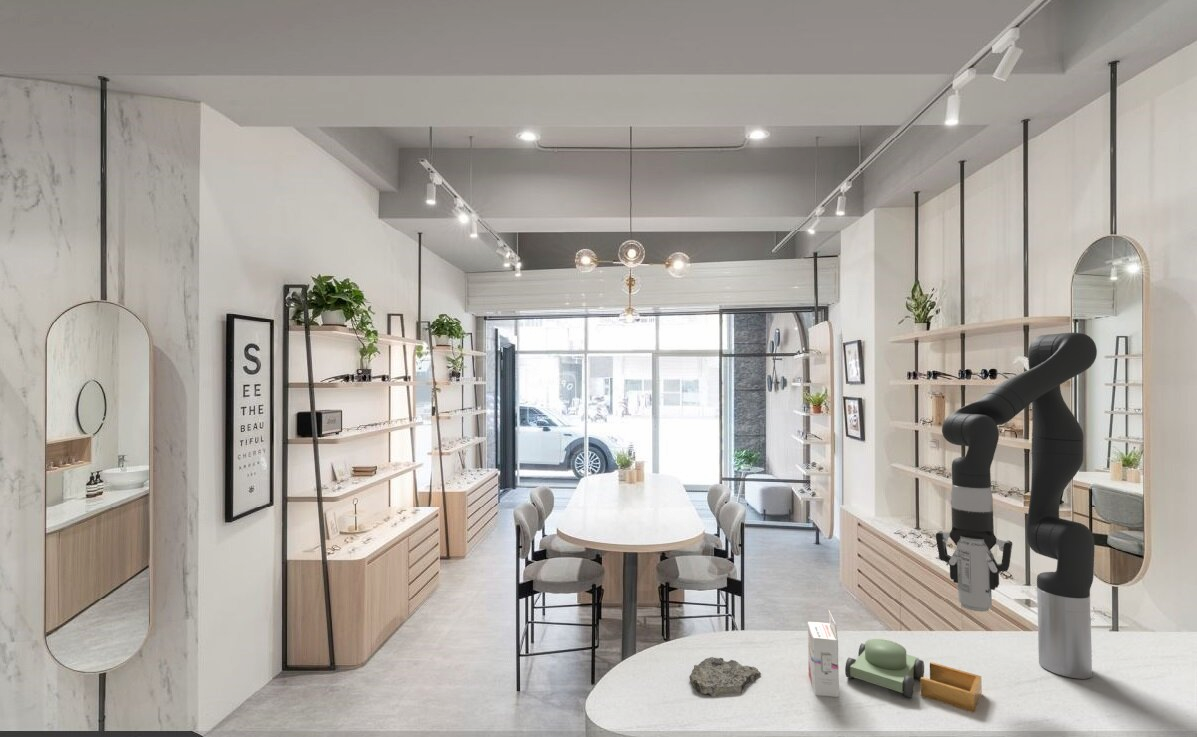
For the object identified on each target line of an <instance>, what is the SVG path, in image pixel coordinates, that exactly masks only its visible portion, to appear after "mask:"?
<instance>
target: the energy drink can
mask: <svg viewBox="0 0 1197 737" xmlns="http://www.w3.org/2000/svg"><path fill="white" fill-rule="evenodd" d="M960 537H961V538H960V540H959V541H958V542H957V546H958V557H957V559H958V560H957V577H958V583H957V600H958V602H959V603H960V604H961V607H963V608H964V609H967V610H970V611H973V612H981V613H982V612H988V611H989V610H990V608H992V606H993V602H992V601H993V600H992V598H993V597H992V590H991V589H990V571H991V570H990V568H989V566H988V562H987V561H986V551H987V552H988V554H989V555H990V551H989V550H988V547H987V545H986V544H985V542H984V539H976V538H969V537H962V536H960ZM961 539H964V540H963V541H962V542H961V543H960V541H961ZM979 541H981V542H982V544H983V546H984V547H983V546H982V544H981V543H980V542H979ZM957 546H956V547H957Z"/></svg>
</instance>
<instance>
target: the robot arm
mask: <svg viewBox="0 0 1197 737" xmlns="http://www.w3.org/2000/svg"><path fill="white" fill-rule="evenodd" d="M1028 347H1029V348H1028V351H1027V352H1028V353H1027V362H1028V364H1027V365H1028V369H1027V370H1026V371H1023V372H1021V373H1018V374H1016V375H1013V376H1011V377H1009V378H1007V379H1005V380H1003V381H1001V382H1000V383H998V384H996V385H995V386H994V387H993V388H992V389H991V390H989V391H988V392H986V393H985V394H984V395H983V396H982V397H981V398H979V399H977V400H974V401H973V402H970V403H968V404H966V405H964V406H962V407H960V408H958V409H956V410H955V411H953V412H952V413H950V414H949V415H948V416H947V417H946V418H945V419H944V421H943V423H942V427H941V432H942V433H941V434H942V437H943V438H944V439H945V440H946V441H947V442H949V443H950V444H953V445H956V446H962V447H968V448H967V450H966V453H965V456H960V457H955V458H954V459H953V460H952V462H951V482H952V483H951V492H950V495H951V496H950V505H951V506H950V507H951V529H950V531H949V532H948V531H947V532H944V531H942V530H939V531H937V532H935V533H936V534H935V540H936V546H937V552H938V556H939V560H940V561H943V562H946V563H947V564H948V565H949V578H950V580H952V581H953V583H956V584H958V577H957V560H958V559H957V557H958V546H957V542H958V541H959V540H960V538H961V537H960V536H962V537H969V538H976V539H984V542H985V544H986V545H987V547H988V550H989V551H990V555H989V554H988V552H987V551H986V561H987V562H988V566H989V568H990V570H991V571H990V589H991V591H995V590H996V589H998V587H999V585H1000V572H1007V571H1008V570H1009V569H1010V564H1011V557H1012V549H1013V542H1012V541H1011V540H1002V539H999V538H997V537H996V535H995V529H994V528H995V527H994V503H993V502H994V499H993V492H992V482H991V481H992V479H991V477H992V475H991V466H992V463H993V460H994V458H995V457H994V456H995V453H996V450H997V446H998V443H999V437H1000V431H999V428H998V426H1001V425H1005V424H1006V423H1008V422H1010V421H1012V419H1014V418H1015V417H1016V416H1017V415H1019V413H1021V412H1022V411H1023V410H1024V409H1026V408H1027V407H1028V406H1029V405H1031V409H1032V410H1031V414H1032V416H1031V417H1032V425H1031V426H1032V427H1031V428H1032V429H1031V485H1030V486H1031V487H1030V498H1029V504H1028V512H1027V513H1028V514H1027V519H1026V531H1025V532H1026V540H1027V541H1026V542H1027V544H1028V545H1029V548H1030V549H1031V550H1032V551H1033V552H1034V553H1036V554H1038V555H1041V556H1044V557H1046V558H1050V559H1052V560H1057V561H1056V562H1057V564H1056V569H1055V571H1044V572H1040V573H1038V574H1037V576H1036V597H1037V598H1036V599H1037V600H1036V601H1037V602H1036V603H1037V631H1038V632H1037V635H1038V636H1037V637H1038V638H1037V640H1038V644H1037V646H1038V648H1037V649H1038V664H1039V666H1041V667H1042V668H1043V669H1045V670H1047V671H1049V672H1052V673H1054V674H1056V675H1059V676H1062V677H1066V678H1072V679H1081V680H1082V679H1083V680H1086V679H1090V678H1092V677H1093V660H1092V657H1093V655H1092V652H1093V650H1092V626H1091V625H1092V619H1091V617H1092V616H1091V589H1092V584H1093V582H1094V570H1095V568H1094V567H1095V548H1096V547H1095V539H1094V536H1093V533H1092V531H1091V529H1090V528H1089V527H1088V526H1087V525H1085V524H1083V523H1080V522H1078V521H1077V522H1076V521H1073V520H1068V519H1064V518H1060V504H1061V498H1062V495H1063V493H1064V491H1065V489H1066V488H1067V486H1068V485H1069V484H1070V483H1071V481H1073V479H1074V477H1075V476H1076V475H1077V473H1078V472H1079V470H1080V469H1081V468H1082V465H1083V461H1084V432H1083V429H1082V427H1081V425H1080V423H1079V422H1078V420H1077V418H1076V417H1075V415H1074V414H1073V412H1072V410H1070V408H1069V406H1068V405H1067V404H1066V402H1065V399H1064V398H1063V395H1062V390H1061V385H1062V384H1064V383H1066V382H1068V380H1071V379H1073V378H1075V377H1076V376H1078V375H1080V374H1082V373H1084V372H1086V371H1087V370H1088V369H1090V368H1091V367H1092V366H1093V365H1094V363H1095V361H1096V359H1097V355H1098V350H1097V345H1096V343H1095V341H1094V339H1093V338H1092V337H1091V336H1090V335H1087V334H1086V333H1081V332H1063V333H1053V334H1051V333H1050V334H1042V335H1039V336H1036V337H1034V338H1033V340H1032V341H1031V342H1030V345H1029V346H1028ZM949 538H950V539H951V541H952V542H953V544H955V546H956V548H955V550H954V552H953V553H952V555H949V554H948V548H947V542H948V541H949ZM963 540H964V539H961V541H960V543H961V542H962V541H963ZM979 542H980V543H981V544H982V542H981V541H979ZM995 545H997V546H998V547H999V550H1000V551H1001V552H1002V556H1001V563H998V562H997V561H996V559H995V555H994V554H993V553H992V548H994V547H995ZM982 546H983V544H982ZM983 547H984V546H983Z"/></svg>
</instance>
